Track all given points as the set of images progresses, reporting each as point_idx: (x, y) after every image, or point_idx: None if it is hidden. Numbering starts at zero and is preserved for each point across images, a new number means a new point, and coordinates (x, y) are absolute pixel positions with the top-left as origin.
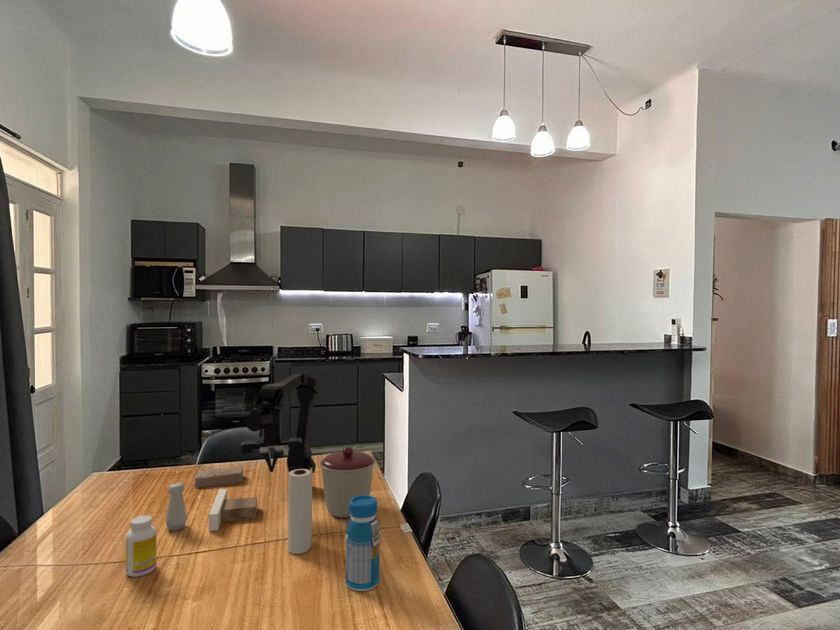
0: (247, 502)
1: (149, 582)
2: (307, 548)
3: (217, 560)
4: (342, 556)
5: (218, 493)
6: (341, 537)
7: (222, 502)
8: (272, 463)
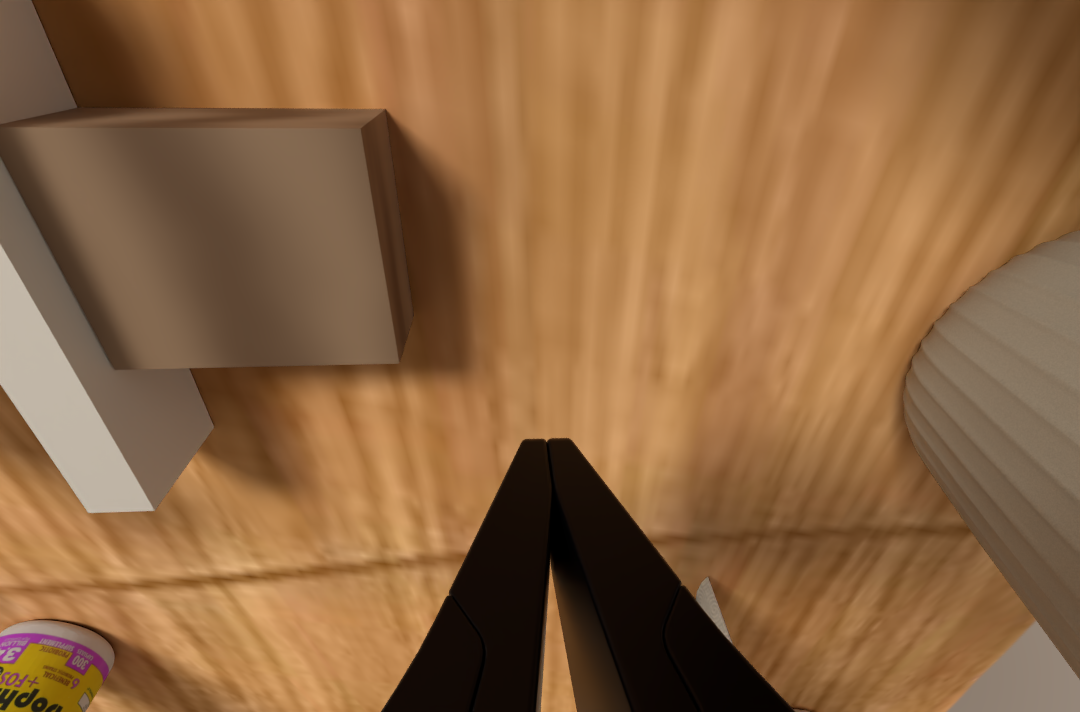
0: (298, 263)
1: (155, 686)
2: None
3: (339, 627)
4: (777, 652)
5: None
6: (833, 567)
7: (43, 297)
8: (579, 702)
